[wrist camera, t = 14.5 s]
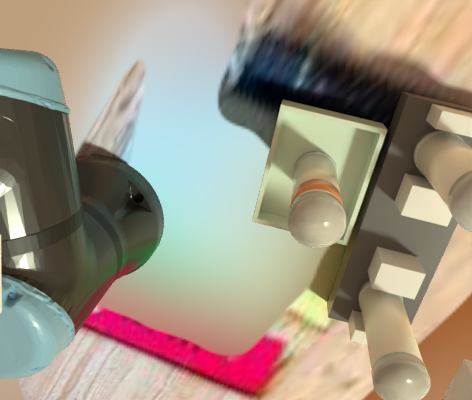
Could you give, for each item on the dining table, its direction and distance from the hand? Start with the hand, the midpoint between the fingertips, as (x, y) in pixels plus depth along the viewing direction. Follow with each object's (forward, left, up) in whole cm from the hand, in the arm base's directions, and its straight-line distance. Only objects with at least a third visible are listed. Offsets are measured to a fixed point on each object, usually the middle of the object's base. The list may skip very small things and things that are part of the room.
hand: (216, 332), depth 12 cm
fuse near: (+15, -1, -34) cm, 37 cm away
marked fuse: (+5, -6, -36) cm, 37 cm away
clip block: (+15, -9, -37) cm, 41 cm away
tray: (+5, -6, -37) cm, 38 cm away
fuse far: (+15, -18, -34) cm, 41 cm away
